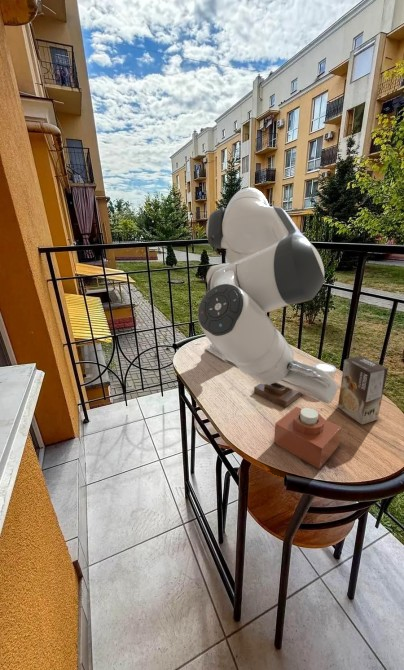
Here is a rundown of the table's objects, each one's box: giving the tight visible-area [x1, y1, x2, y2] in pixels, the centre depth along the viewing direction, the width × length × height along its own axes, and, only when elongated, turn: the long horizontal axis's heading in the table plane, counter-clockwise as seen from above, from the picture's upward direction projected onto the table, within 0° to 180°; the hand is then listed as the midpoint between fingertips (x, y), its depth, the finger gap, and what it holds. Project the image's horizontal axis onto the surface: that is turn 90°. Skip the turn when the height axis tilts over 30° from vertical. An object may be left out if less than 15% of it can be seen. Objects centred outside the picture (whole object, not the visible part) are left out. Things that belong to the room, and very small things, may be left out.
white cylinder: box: [313, 362, 337, 381], centre depth 95 cm, size 7×7×7 cm
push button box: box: [273, 406, 342, 470], centre depth 69 cm, size 12×10×8 cm
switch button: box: [272, 383, 283, 388], centre depth 91 cm, size 4×4×2 cm
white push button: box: [300, 407, 319, 425], centre depth 68 cm, size 4×4×2 cm
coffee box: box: [337, 355, 389, 425], centre depth 79 cm, size 9×6×16 cm
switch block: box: [253, 383, 304, 408], centre depth 92 cm, size 12×10×4 cm
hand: (291, 385), depth 57 cm, fingers closed
